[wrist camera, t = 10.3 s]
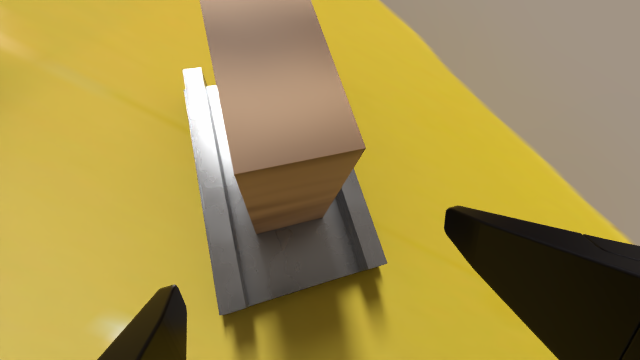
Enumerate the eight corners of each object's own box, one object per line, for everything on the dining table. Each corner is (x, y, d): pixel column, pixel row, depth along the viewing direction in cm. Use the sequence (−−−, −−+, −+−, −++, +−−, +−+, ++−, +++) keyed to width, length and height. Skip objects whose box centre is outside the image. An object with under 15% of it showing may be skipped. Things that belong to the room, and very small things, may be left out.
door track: (378, 265, 19) (394, 261, 17) (222, 314, 17) (212, 318, 14) (314, 80, 24) (319, 53, 22) (187, 98, 22) (174, 70, 19)
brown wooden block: (322, 217, 19) (365, 147, 10) (256, 234, 18) (233, 174, 9) (294, 118, 22) (306, -11, 12) (234, 128, 21) (198, -5, 11)
